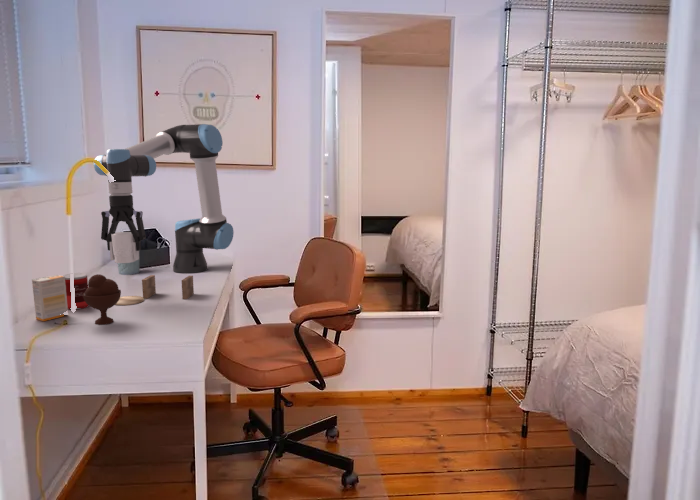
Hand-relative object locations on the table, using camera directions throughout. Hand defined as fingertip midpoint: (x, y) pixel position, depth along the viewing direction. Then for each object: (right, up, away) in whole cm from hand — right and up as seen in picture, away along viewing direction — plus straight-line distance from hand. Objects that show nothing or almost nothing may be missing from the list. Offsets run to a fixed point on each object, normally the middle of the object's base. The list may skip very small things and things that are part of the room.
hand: (125, 259), depth 193 cm
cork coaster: (0, -15, +2) cm, 15 cm away
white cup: (0, -1, 0) cm, 1 cm away
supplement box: (-16, -18, -18) cm, 30 cm away
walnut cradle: (+12, -14, +10) cm, 21 cm away
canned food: (-14, -16, -5) cm, 22 cm away
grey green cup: (-19, -7, +51) cm, 55 cm away
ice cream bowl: (+3, -19, -22) cm, 30 cm away
